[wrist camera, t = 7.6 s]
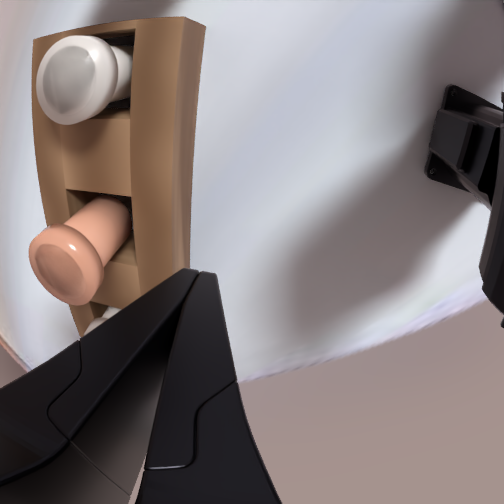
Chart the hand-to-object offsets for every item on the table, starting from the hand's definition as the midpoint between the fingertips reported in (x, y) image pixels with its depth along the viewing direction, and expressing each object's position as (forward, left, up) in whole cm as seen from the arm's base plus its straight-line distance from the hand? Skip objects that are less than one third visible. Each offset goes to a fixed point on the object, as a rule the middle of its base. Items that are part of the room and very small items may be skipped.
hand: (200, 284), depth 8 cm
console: (+9, +5, -13) cm, 17 cm away
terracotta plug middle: (+9, +5, -10) cm, 14 cm away
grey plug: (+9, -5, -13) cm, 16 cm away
